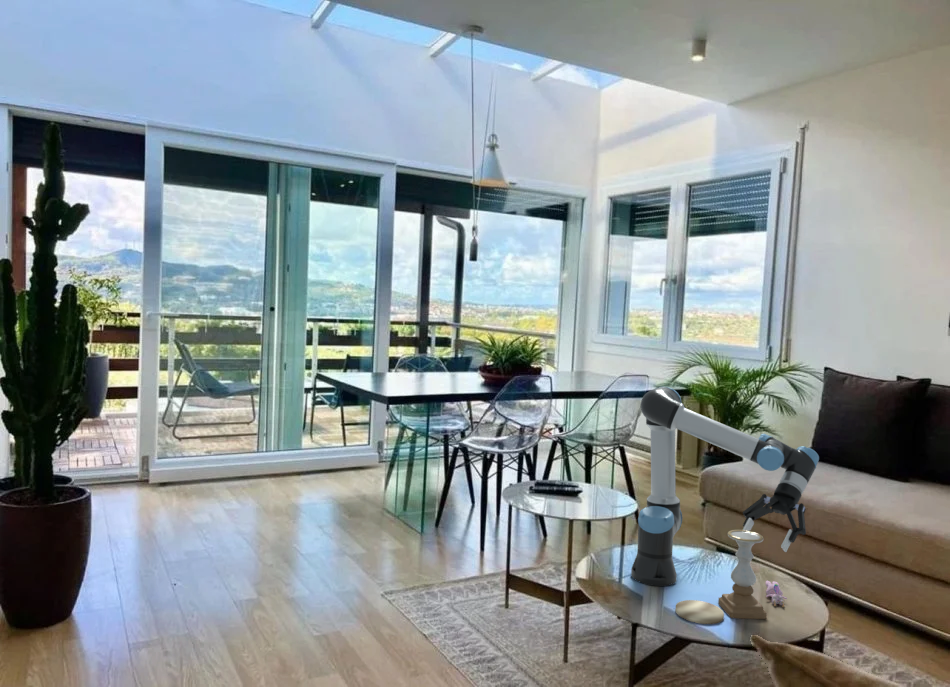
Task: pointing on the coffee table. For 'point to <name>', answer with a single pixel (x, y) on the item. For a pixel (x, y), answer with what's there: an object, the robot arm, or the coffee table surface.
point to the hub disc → (699, 612)
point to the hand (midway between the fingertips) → (762, 542)
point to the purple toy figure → (775, 593)
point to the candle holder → (743, 580)
